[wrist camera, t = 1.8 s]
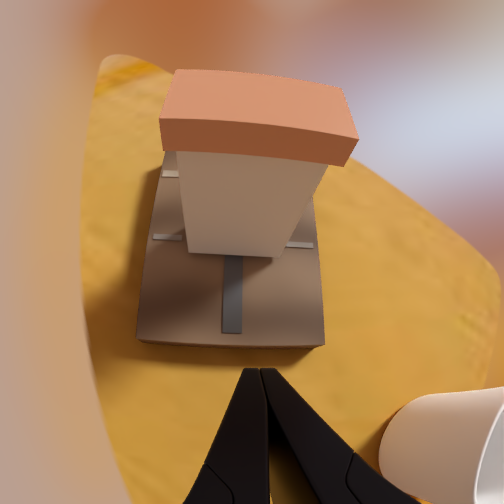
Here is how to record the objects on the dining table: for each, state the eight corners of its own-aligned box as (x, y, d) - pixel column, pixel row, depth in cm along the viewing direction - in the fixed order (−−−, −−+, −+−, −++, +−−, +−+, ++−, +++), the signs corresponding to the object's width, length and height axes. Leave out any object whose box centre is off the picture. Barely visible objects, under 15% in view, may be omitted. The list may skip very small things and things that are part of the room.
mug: (394, 528, 14) (475, 567, 4) (361, 428, 18) (464, 445, 8) (463, 474, 16) (547, 483, 6) (438, 376, 20) (537, 356, 11)
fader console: (314, 348, 20) (325, 344, 18) (142, 342, 19) (135, 338, 17) (301, 171, 27) (307, 156, 25) (168, 161, 25) (166, 145, 23)
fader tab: (285, 263, 20) (359, 139, 9) (182, 257, 19) (158, 118, 9) (283, 221, 21) (341, 88, 11) (186, 215, 20) (176, 69, 10)
